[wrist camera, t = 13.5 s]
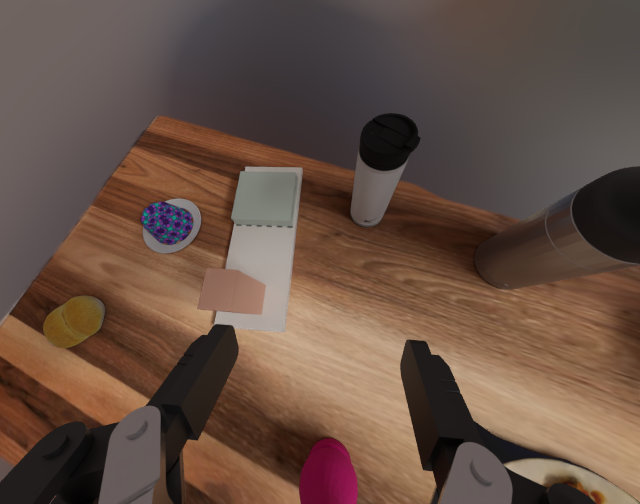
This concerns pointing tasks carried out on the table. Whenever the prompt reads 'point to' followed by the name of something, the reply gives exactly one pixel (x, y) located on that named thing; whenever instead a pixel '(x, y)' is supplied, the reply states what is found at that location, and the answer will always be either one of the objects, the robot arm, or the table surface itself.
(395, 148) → the travel mug
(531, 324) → the table surface
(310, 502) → the pepper mill
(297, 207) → the ticket board
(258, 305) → the stub
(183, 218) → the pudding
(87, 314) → the bread roll
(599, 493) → the plate of glazed chicken
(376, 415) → the table surface
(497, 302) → the table surface
